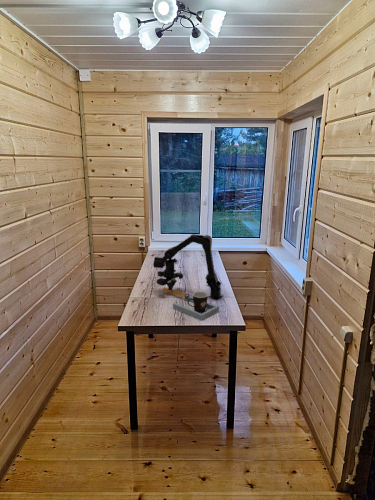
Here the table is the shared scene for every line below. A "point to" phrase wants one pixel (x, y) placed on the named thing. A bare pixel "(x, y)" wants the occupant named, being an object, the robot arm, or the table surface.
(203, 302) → the coffee mug
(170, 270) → the robot arm
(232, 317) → the table surface
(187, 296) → the orange bar
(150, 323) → the table surface
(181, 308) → the frame
